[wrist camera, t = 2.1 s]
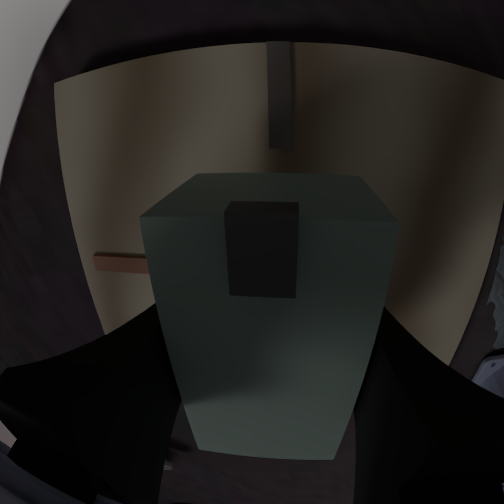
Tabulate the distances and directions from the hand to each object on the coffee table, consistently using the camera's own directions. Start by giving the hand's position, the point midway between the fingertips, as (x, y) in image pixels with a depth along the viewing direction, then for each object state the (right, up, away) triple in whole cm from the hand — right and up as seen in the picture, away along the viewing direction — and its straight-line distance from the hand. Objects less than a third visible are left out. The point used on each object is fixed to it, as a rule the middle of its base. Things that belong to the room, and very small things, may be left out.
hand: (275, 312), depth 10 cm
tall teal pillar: (0, 0, +1) cm, 1 cm away
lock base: (+1, +2, +4) cm, 4 cm away
